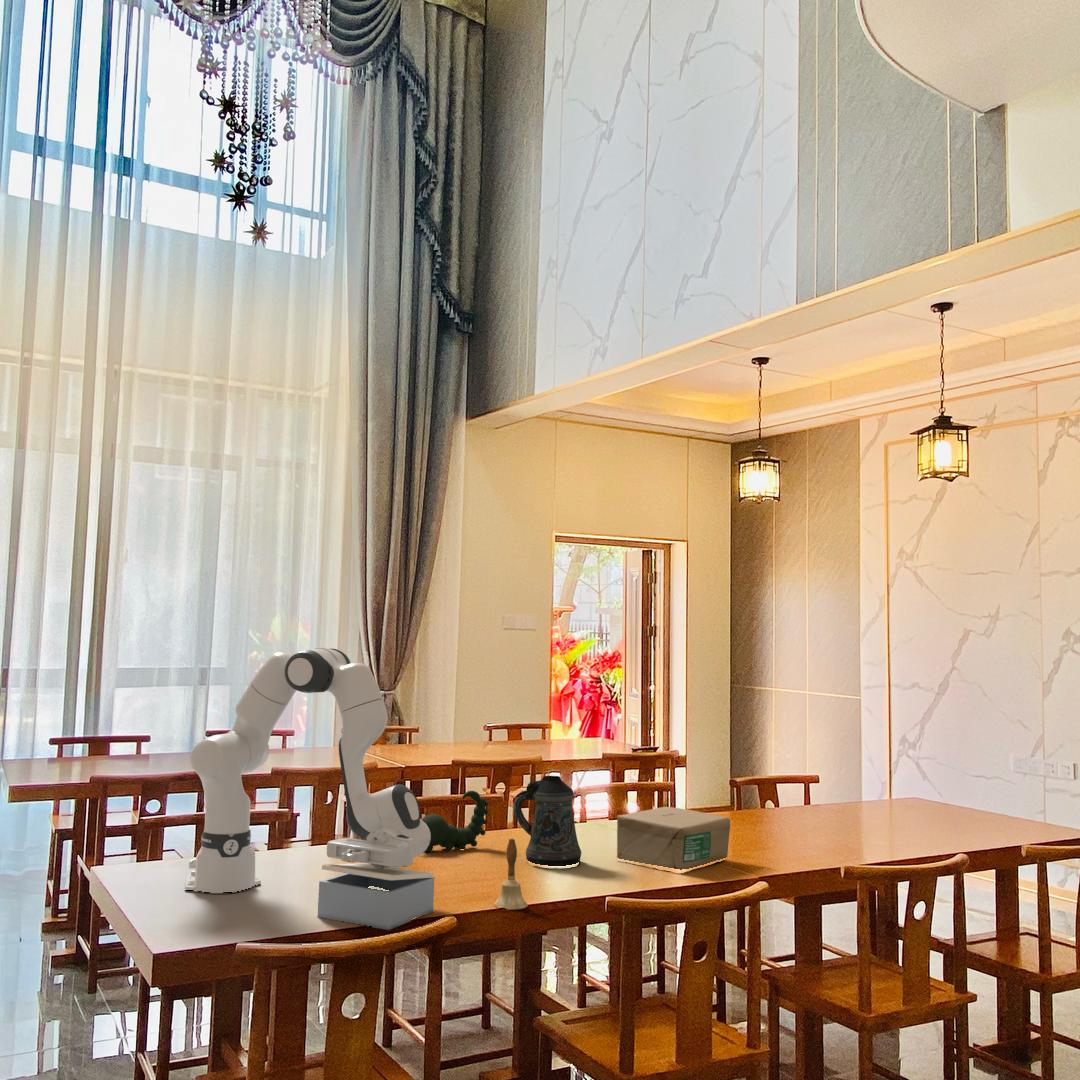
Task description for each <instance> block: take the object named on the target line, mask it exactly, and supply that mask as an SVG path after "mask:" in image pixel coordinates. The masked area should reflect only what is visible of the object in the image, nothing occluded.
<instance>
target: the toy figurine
mask: <svg viewBox="0 0 1080 1080" xmlns="http://www.w3.org/2000/svg"><path fill="white" fill-rule="evenodd" d="M466 798H471V800H473V801H475V806H474V808H473V815H471V818H470V822H469V824H468V825H467V826H466V827H464V828H463V827H456V826H455V825H454V824H453V825H452V824H448V822H447V821H446V819H445V818H444V817H442V816H441V815H440V814H435V813H431V814H427V815H426V816H424V817H422V818H421V820H422V821H423V822H424V823H425V824H426V825H427V826H428V828H429V830H430V833H431V840H430V843H429V846H428V847H427V849H426V850H425V851H424V852H427V853H430V852H432V851H433V848H434V847H437V846H440V848H443V849H444V848H445V850H447V851H452V850H453V849H454V848H455V849H459V850H460V849H465V850H466V846H467V845H470V846H471V847H477V845H478V841H477V840H476V839H477V837H479V836H485V835H486V831H485V829H483V825H487V823H488V820H487V819H485V816H486V815H488V814H489V811H488V809H487V807H488V806H489V802H488V801H487V800H486V798H484V797H481V796H480V794H479V793H478V792H477V791H475V790H469V791H466V792H464V794H463V795H462V800H464V799H466Z"/></svg>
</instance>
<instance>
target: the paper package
mask: <svg viewBox="0 0 1080 1080" xmlns="http://www.w3.org/2000/svg"><path fill="white" fill-rule="evenodd" d="M616 820H617V826H616V843H617V844H616V847H617V848H616V859H617V858H619V859H624V860H629V861H634V862H639V863H645V864H651V865H657V866H663V867H668V868H674V869H680V870H682V869H689V868H693V867H697V866H700V865H704V864H707V863H710V862H713V861H716V860H720V859H723V858H726V857H727V858H728V854H729V853H728V852H729V843H730V842H729V841H730V831H731V819H730V818H729V817H727V816H723V815H722V816H721V815H717V814H712V813H707V812H703V811H702V812H701V811H697V810H690V809H684V808H679V807H678V808H677V807H671V806H662V807H655V808H651V809H646V810H641V811H636V812H631V813H626V814H622V815H621V814H619V815H617V818H616Z"/></svg>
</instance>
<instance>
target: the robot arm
mask: <svg viewBox="0 0 1080 1080" xmlns="http://www.w3.org/2000/svg"><path fill="white" fill-rule="evenodd" d="M297 691H298V692H300V693H306V694H314V693H315V694H316V693H325V692H329V693H330V694H332V695H333V697H334V699H335V700H336V702H337V706H338V709H339V713H340V716H341V720H342V721H341V722H342V734H341V736H340V739H339V741H338V755H339V756H338V757H339V764H340V770H341V777H342V783H343V789H344V795H345V802H346V807H345V808H346V809H345V811H346V813H345V814H346V823H347V826H348V828H349V830H350V831H351V832H352V833H353V834H355V836H358V837H359V838H352V837H343V838H338V839H337V838H336V839H333V840H329V841H328V842H327V843H326V856H327V857H328V858H331V859H338V860H341V861H342V862H347V863H351V864H353V863H369V864H371V865H372V866H374V867H376V868H384V867H396V868H409V867H412V866H413V861H414V858H415V859H416V858H417V857H419V856H420V855H422V854H423V853H424V852H426V851H425V850H426V849H427V847H428V846H429V843H430V840H431V833H430V830H429V828H428V826H427V825H426V824H425V823H424V822H423V821H422V818H421V809H420V803H419V800H418V798H417V796H416V794H415V793H414V792H413V791H412V790H411V789H410V788H409V787H407V786H406V785H404V784H400V783H399V784H396V785H392V786H389V787H386V788H385V789H381V790H379V791H376V792H374V793H371V794H370V793H369V792H368V787H367V782H366V781H367V780H366V775H365V769H364V758H365V755H366V753H367V751H368V749H369V748H370V747H371V746H372V745H373V744H374V743H375V742H376V741H377V740H378V739H379V738H380V737H381V735H383V733H384V732H385V729H386V727H387V724H388V719H389V717H388V711H387V708H386V704H385V701H384V697H383V694H382V692H381V690H380V687H379V685H378V682H377V680H376V678H375V676H374V674H373V673H372V671H371V669H370V668H369V666H367V665H366V664H364V663H361V662H351V660H350V658H349V657H348V655H347V654H345V652H343V651H341V650H338V649H336V648H325V647H320V648H319V647H316V648H312V649H303V650H300V651H298V652H296V653H294V654H292V653H290V652H286V651H278V652H274V653H272V654H271V656H269V658H268V659H267V660H266V661H265V662H264V663H263V664H262V666H261V667H260V668H259V669H258V670H257V672H256V673H255V675H254V676H253V678H252V680H251V681H250V682H249V684H248V686H247V688H246V689H245V690H244V692H243V694H242V695H241V697H240V698H239V700H238V702H237V704H236V706H235V713H236V718H235V721H234V724H233V727H232V728H231V729H230V730H229V731H228V732H226V733H221V734H213V735H210V736H209V737H206V738H204V739H202V740H201V741H199V742H197V743H196V744H195V746H194V747H193V748H192V750H191V752H190V753H191V754H190V765H191V767H192V769H193V771H194V772H195V773H196V775H198V777H199V778H200V781H201V784H202V788H203V792H204V793H203V794H204V798H205V799H204V802H205V803H204V804H205V808H204V809H205V810H204V811H205V812H204V813H205V814H204V829H203V831H202V835H201V839H200V840H201V841H200V842H201V843H200V844H201V847H200V849H199V850H198V853H197V855H196V857H195V858H192V859H190V860H188V861H189V862H188V863H189V864H188V869H189V870H191V873H188V874H186V879H185V884H184V890H185V889H186V890H196V891H195V892H198V891H202V892H201V893H204V892H210V893H209V894H224V893H223V892H232V893H238V892H237V891H239V892H242V891H241V890H244V891H246V890H245V889H247V890H249V889H248V888H250V889H252V888H253V887H256V886H259V885H258V884H260V885H262V880H261V879H260V878H258V877H256V851H254V849H252V848H251V847H250V845H251V838H252V835H251V834H252V833H251V829H250V822H251V821H250V820H251V818H250V817H251V803H252V802H251V798H250V797H249V794H247V793H246V791H245V789H244V785H243V780H242V779H243V778H242V775H243V774H248V773H252V772H253V771H255V770H257V769H259V768H260V767H261V766H262V765H264V764H265V763H266V761H267V760H268V758H269V755H270V746H269V742H270V738H271V736H272V732H273V730H274V728H275V726H276V724H277V722H278V721H279V719H280V717H281V716H282V714H283V713H284V711H285V709H286V708H287V706H288V704H289V703H290V701H291V700H292V698H293V697H294V695H295V693H296V692H297ZM255 885H256V886H255ZM252 886H253V887H252Z"/></svg>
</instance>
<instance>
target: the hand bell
mask: <svg viewBox="0 0 1080 1080" xmlns="http://www.w3.org/2000/svg"><path fill="white" fill-rule="evenodd" d="M517 854H518V849H517V845H516V841H515V838H509V839H508V844H507V846H506V853H505V855H506V861H507V867H508V869H507V880H506V881H503V882H502V884H501V890H500V895H499V897H498V898H497V900H495V902H494V904H496V905H498V906H501V907H504V908H505V909H506V910H507V911H508V910H509V911H514V910H523V909H526V908H528V907H529V905H528V902H527V901H526V900H525V898H524V896H523V893H522V888H521V882H519V881H518V880H516V874H515V873H516V871H515V869H516V868H515V867H516V866H515V865H516V861H517V857H518V855H517ZM505 909H504V910H505Z"/></svg>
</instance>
